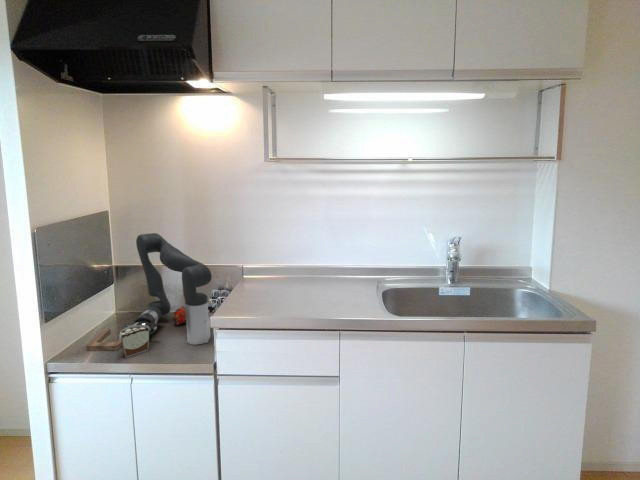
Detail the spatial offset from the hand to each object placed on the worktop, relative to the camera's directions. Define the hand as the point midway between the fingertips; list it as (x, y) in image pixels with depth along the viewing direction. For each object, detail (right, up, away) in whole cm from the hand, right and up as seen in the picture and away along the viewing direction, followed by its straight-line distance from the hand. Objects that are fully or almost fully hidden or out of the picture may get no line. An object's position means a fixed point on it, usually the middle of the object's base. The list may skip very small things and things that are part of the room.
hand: (132, 336), depth 179 cm
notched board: (-13, -4, +11) cm, 18 cm away
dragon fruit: (+11, -1, +31) cm, 33 cm away
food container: (0, -6, +1) cm, 7 cm away
